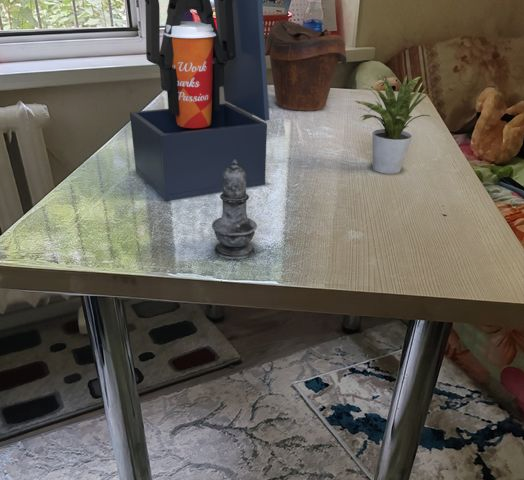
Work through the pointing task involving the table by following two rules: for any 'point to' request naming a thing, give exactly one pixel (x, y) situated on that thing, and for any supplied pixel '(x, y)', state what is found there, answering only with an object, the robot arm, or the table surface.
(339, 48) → the brown bucket
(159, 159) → the dark blue open box
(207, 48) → the paper cup
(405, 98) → the house plant
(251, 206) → the table surface
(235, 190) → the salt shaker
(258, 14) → the lid
